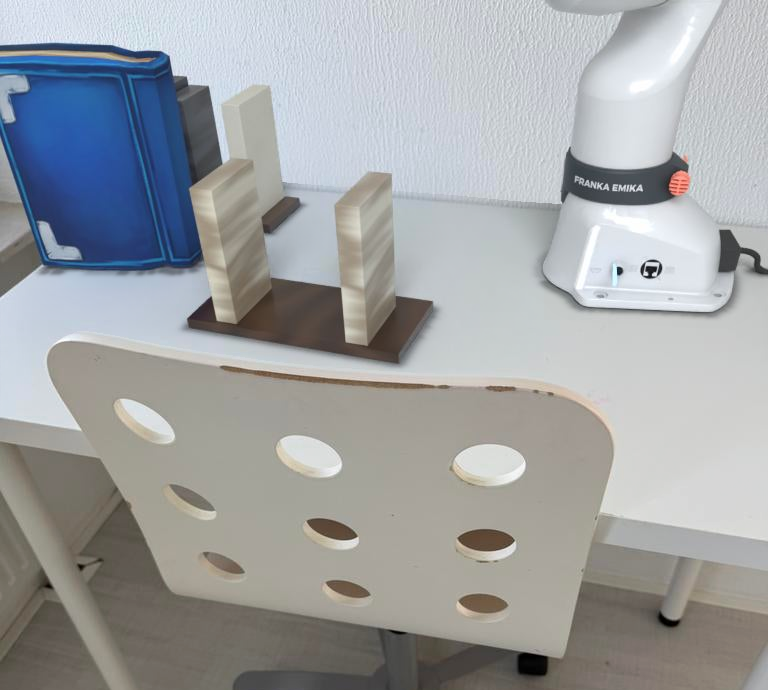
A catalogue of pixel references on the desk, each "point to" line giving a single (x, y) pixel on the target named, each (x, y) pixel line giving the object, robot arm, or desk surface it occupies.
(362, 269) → the ivory stand
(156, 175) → the book
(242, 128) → the ivory book
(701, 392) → the desk surface
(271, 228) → the grey stand
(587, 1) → the robot arm
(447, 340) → the desk surface
